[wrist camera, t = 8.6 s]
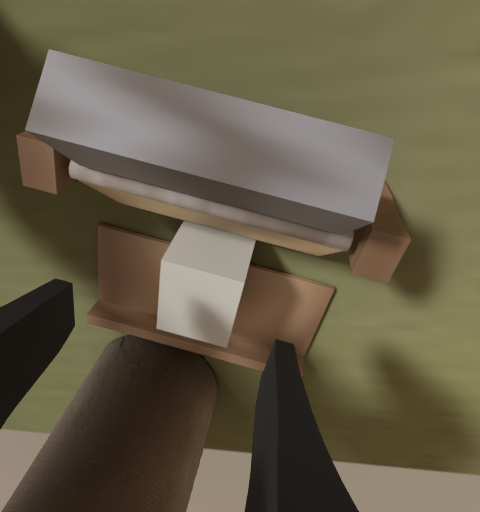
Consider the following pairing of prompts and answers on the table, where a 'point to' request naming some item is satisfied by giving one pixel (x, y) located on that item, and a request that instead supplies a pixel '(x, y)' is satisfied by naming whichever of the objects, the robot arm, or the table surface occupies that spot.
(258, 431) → the robot arm
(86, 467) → the pillar candle
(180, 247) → the stone block
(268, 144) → the trapdoor
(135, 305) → the frame
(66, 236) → the table surface
